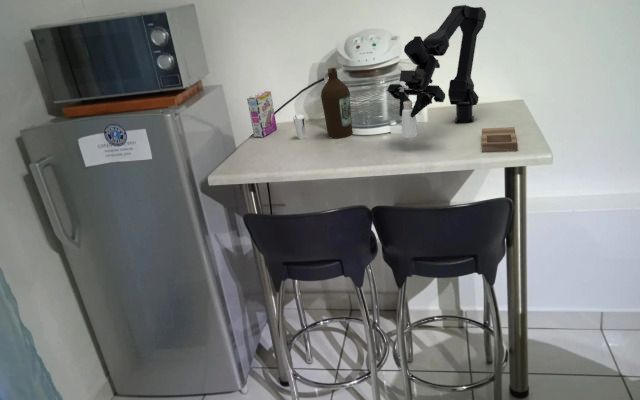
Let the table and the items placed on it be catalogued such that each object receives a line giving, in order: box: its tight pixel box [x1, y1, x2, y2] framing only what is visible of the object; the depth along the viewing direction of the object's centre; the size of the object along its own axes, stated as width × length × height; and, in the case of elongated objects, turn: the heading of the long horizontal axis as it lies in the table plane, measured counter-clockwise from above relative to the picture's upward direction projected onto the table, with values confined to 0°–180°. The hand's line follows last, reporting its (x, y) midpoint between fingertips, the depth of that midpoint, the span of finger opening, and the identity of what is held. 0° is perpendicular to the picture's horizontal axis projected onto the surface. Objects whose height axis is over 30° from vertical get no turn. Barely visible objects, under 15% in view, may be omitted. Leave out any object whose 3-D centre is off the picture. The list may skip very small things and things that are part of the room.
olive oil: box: [320, 66, 353, 139], centre depth 181 cm, size 11×11×25 cm
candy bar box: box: [246, 90, 278, 139], centre depth 199 cm, size 11×5×16 cm, turn 154°
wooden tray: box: [481, 126, 519, 153], centre depth 153 cm, size 16×10×2 cm, turn 163°
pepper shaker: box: [401, 100, 419, 139], centre depth 155 cm, size 5×5×11 cm
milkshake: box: [292, 113, 307, 140], centre depth 187 cm, size 5×5×10 cm
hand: (406, 116), depth 154 cm, fingers closed on pepper shaker, 4 cm apart
